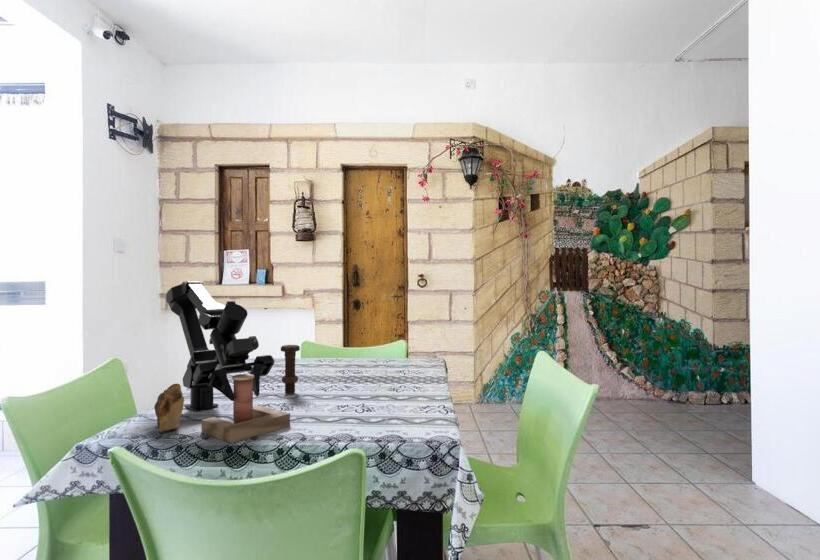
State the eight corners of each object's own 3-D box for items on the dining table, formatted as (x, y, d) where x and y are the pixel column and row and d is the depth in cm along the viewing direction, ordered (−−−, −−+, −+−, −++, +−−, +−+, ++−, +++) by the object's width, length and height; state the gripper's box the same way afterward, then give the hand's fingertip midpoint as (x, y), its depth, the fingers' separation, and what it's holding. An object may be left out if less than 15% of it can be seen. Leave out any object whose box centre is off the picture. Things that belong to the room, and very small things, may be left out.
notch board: (201, 432, 111) (201, 419, 111) (259, 417, 124) (260, 405, 124) (231, 443, 104) (231, 429, 104) (289, 425, 116) (290, 413, 116)
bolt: (293, 395, 147) (293, 347, 147) (278, 395, 148) (278, 346, 148) (301, 391, 153) (301, 344, 153) (286, 390, 154) (287, 344, 154)
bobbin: (227, 426, 116) (227, 374, 116) (254, 422, 119) (254, 372, 119) (230, 433, 110) (230, 379, 110) (259, 429, 113) (259, 377, 113)
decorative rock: (185, 433, 110) (186, 387, 110) (156, 437, 107) (156, 389, 107) (180, 420, 121) (180, 377, 121) (153, 423, 118) (153, 380, 118)
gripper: (197, 328, 111) (216, 383, 103) (271, 323, 124) (293, 372, 116) (185, 358, 116) (202, 412, 109) (257, 350, 130) (276, 398, 122)
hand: (245, 397), depth 114 cm, fingers open, 6 cm apart
